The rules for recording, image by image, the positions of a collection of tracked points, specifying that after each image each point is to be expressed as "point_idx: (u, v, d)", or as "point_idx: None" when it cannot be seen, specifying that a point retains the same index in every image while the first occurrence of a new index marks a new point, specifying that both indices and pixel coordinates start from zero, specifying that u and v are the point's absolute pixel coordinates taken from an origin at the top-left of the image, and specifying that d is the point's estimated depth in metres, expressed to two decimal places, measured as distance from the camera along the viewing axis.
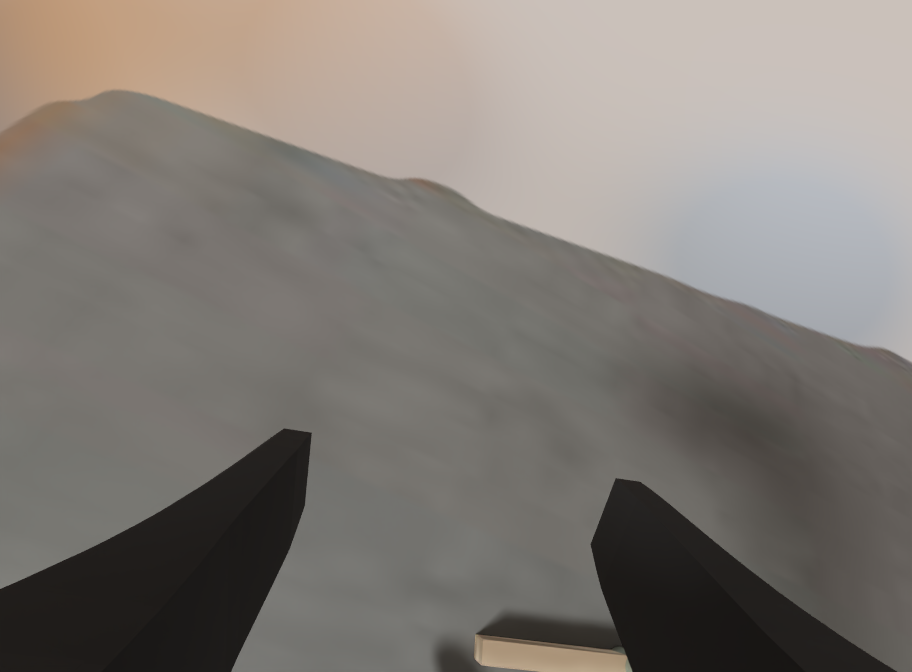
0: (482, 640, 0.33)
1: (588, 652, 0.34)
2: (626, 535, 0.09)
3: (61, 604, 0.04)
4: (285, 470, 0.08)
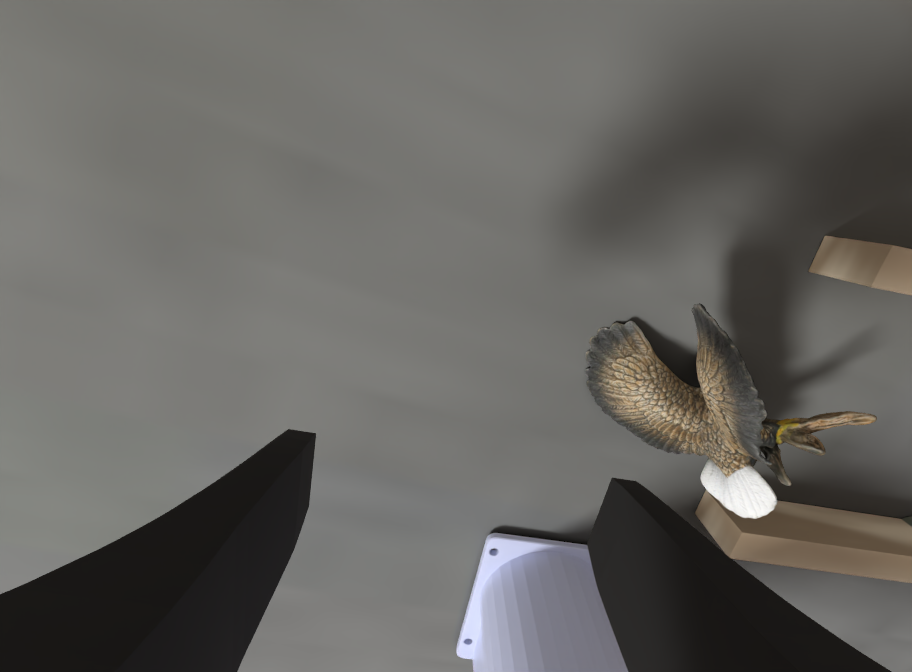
0: (884, 246, 0.16)
1: None
2: (622, 535, 0.09)
3: (71, 605, 0.04)
4: (291, 471, 0.08)
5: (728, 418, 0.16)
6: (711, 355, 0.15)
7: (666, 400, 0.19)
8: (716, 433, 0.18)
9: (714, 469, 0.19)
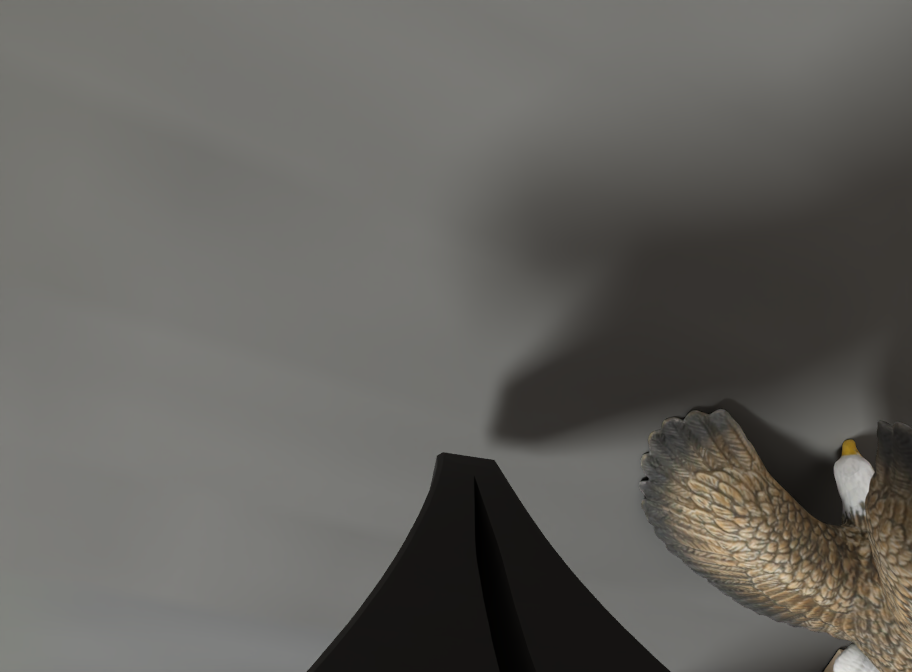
0: None
1: None
2: None
3: (413, 642, 0.05)
4: (472, 496, 0.08)
5: None
6: None
7: (790, 555, 0.11)
8: (889, 625, 0.10)
9: (867, 667, 0.11)
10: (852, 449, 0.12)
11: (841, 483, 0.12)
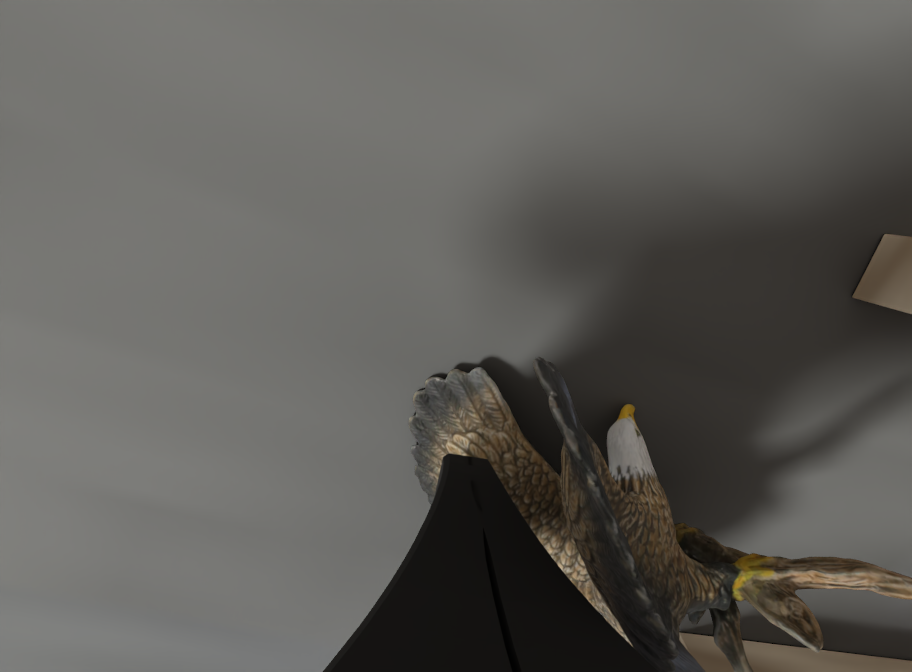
0: None
1: None
2: None
3: (426, 644, 0.05)
4: (479, 497, 0.08)
5: (612, 608, 0.07)
6: (570, 475, 0.07)
7: (530, 519, 0.10)
8: None
9: None
10: (625, 413, 0.11)
11: (608, 448, 0.11)
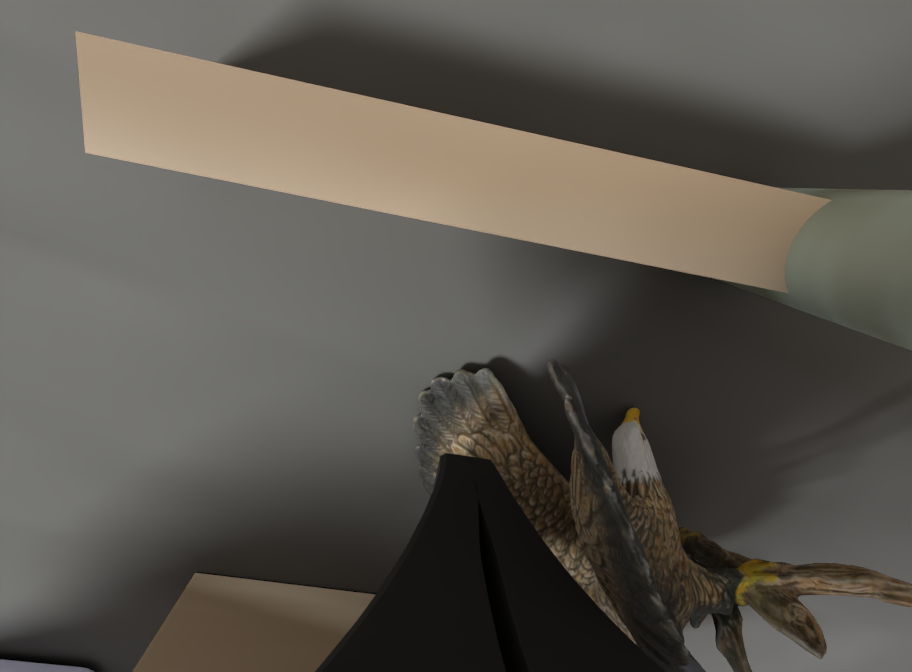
0: None
1: (640, 162, 0.07)
2: None
3: (419, 643, 0.05)
4: (475, 497, 0.08)
5: (620, 613, 0.07)
6: (581, 478, 0.07)
7: (535, 522, 0.10)
8: None
9: None
10: (631, 417, 0.11)
11: (613, 451, 0.11)
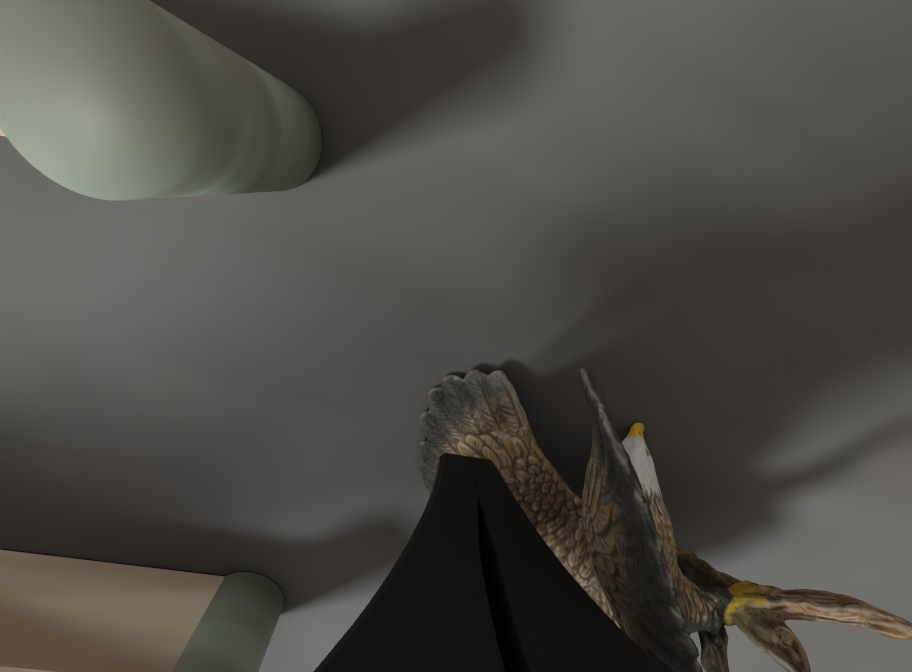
0: None
1: None
2: None
3: (418, 643, 0.05)
4: (474, 496, 0.08)
5: (624, 623, 0.07)
6: (601, 487, 0.07)
7: (536, 527, 0.10)
8: None
9: None
10: (636, 431, 0.12)
11: None
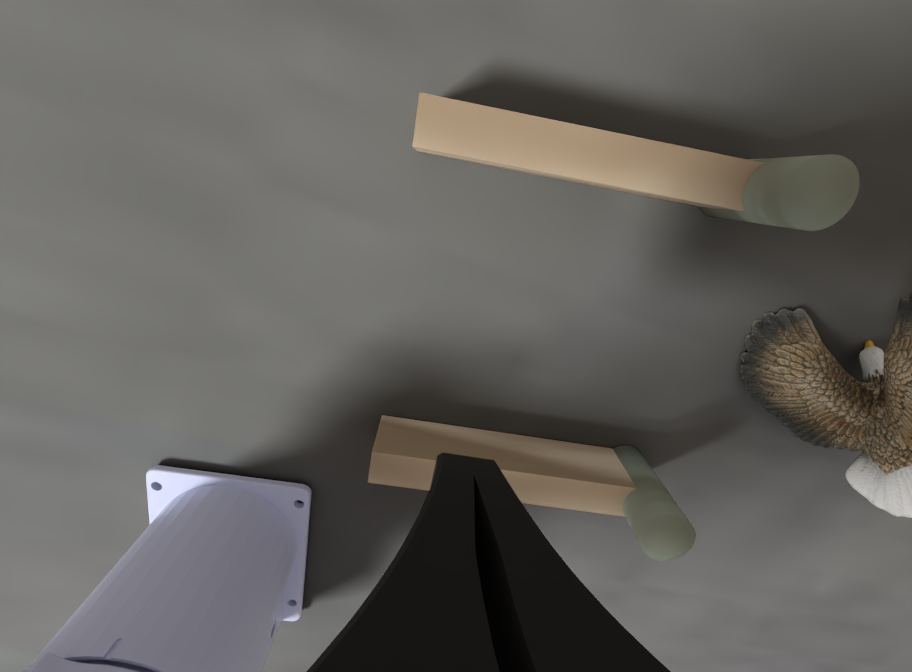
0: None
1: (670, 146, 0.14)
2: None
3: (412, 643, 0.05)
4: (471, 496, 0.08)
5: None
6: None
7: (834, 391, 0.19)
8: (887, 428, 0.18)
9: (868, 466, 0.19)
10: (871, 344, 0.20)
11: (863, 361, 0.20)
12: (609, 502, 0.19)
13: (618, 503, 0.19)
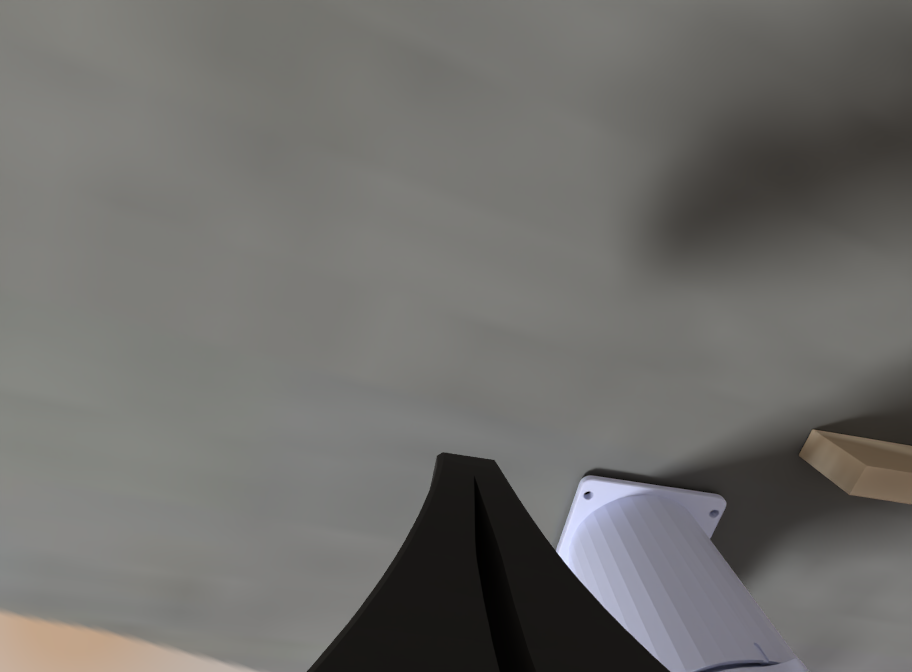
0: None
1: None
2: None
3: (413, 642, 0.05)
4: (471, 496, 0.08)
5: None
6: None
7: None
8: None
9: None
10: None
11: None
12: None
13: None
